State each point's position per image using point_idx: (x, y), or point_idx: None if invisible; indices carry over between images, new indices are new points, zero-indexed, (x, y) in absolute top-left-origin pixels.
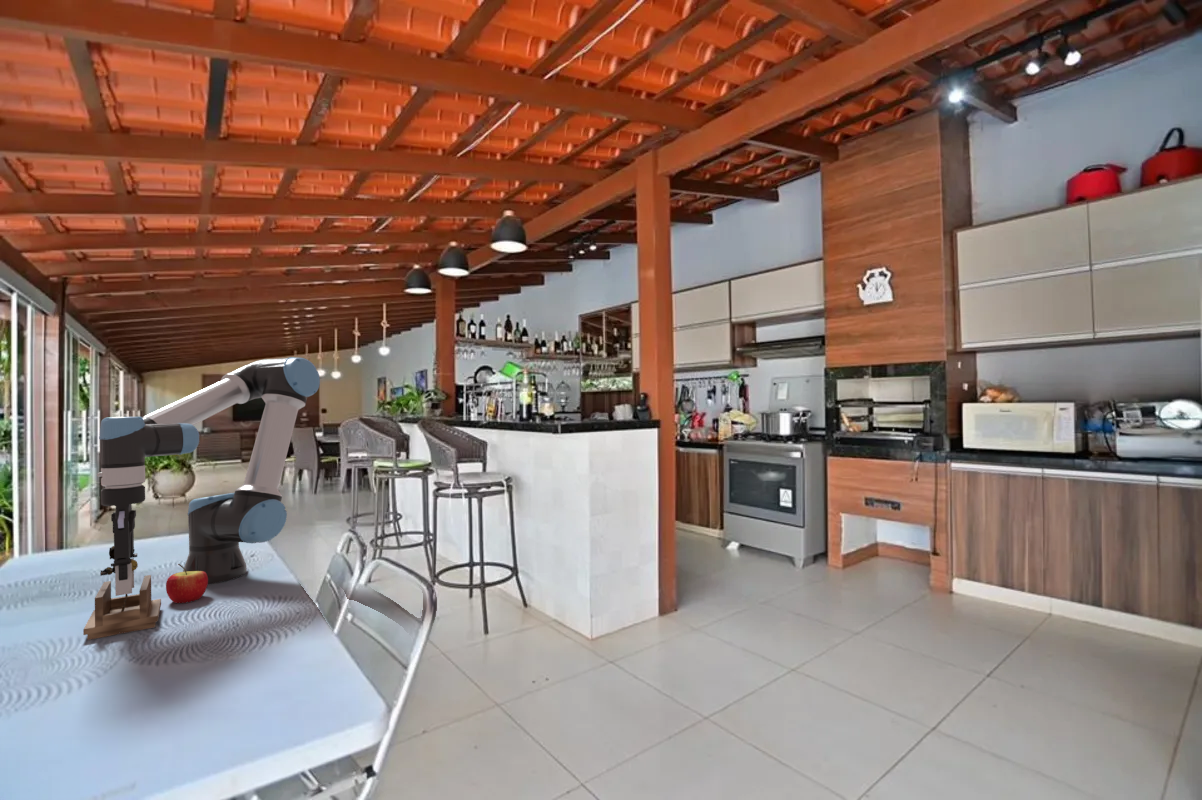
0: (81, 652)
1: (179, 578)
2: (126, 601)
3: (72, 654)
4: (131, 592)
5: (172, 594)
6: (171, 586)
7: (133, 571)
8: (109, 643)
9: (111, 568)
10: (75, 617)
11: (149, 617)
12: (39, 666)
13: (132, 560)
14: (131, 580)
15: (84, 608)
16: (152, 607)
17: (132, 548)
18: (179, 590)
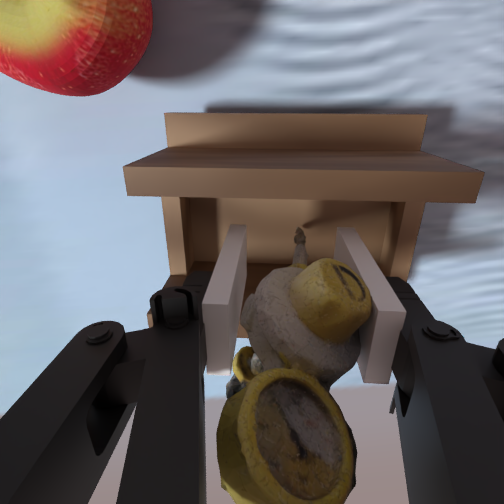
0: (445, 282)
1: (102, 17)
2: (187, 226)
3: (442, 297)
4: (354, 229)
5: (133, 68)
6: (118, 68)
7: (237, 260)
8: (427, 232)
9: (242, 368)
10: (100, 316)
11: (421, 142)
12: (471, 341)
13: (353, 313)
14: (368, 253)
15: (20, 305)
16: (282, 138)
17: (199, 370)
18: (147, 31)
